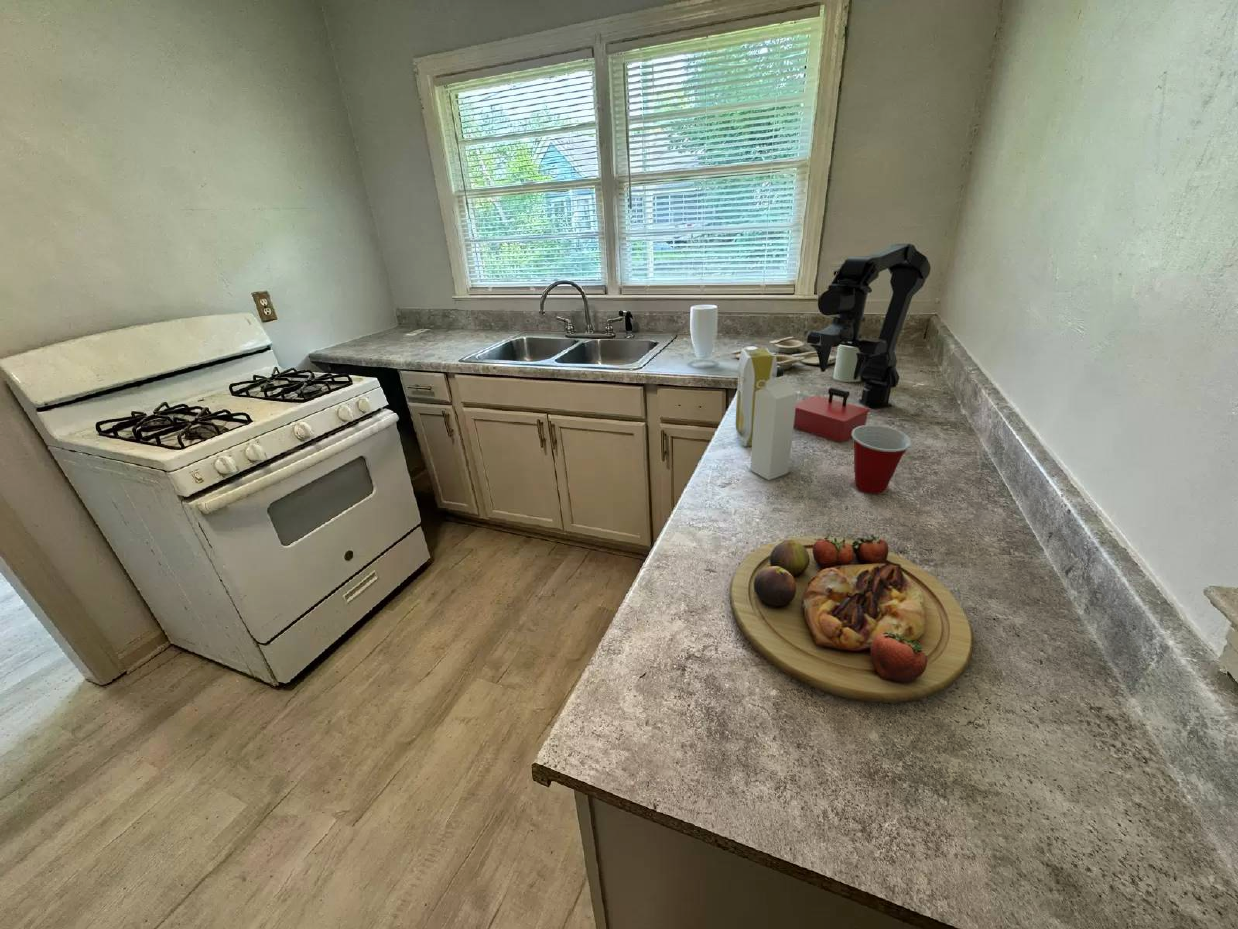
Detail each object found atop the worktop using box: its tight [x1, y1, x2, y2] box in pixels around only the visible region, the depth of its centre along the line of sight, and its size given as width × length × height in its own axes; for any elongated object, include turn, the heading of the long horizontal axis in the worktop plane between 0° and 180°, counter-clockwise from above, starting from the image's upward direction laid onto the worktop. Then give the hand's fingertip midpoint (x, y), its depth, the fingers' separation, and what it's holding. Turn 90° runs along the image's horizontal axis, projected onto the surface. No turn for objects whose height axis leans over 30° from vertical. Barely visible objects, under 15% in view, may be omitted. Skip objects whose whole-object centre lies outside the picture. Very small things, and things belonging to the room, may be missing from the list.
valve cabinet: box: [793, 410, 868, 443], centre depth 130 cm, size 11×16×5 cm
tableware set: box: [731, 336, 837, 370], centre depth 189 cm, size 35×29×4 cm
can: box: [832, 342, 860, 383], centre depth 163 cm, size 9×9×12 cm
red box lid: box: [795, 387, 870, 424], centre depth 128 cm, size 11×16×5 cm
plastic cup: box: [851, 424, 913, 495], centre depth 100 cm, size 11×11×12 cm
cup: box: [689, 304, 719, 359], centre depth 186 cm, size 10×10×22 cm
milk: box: [749, 374, 798, 481], centre depth 106 cm, size 6×6×22 cm
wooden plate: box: [729, 533, 974, 704], centre depth 71 cm, size 32×32×8 cm
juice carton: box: [735, 346, 777, 447], centre depth 121 cm, size 9×8×24 cm
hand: (838, 375), depth 127 cm, fingers open, 9 cm apart
